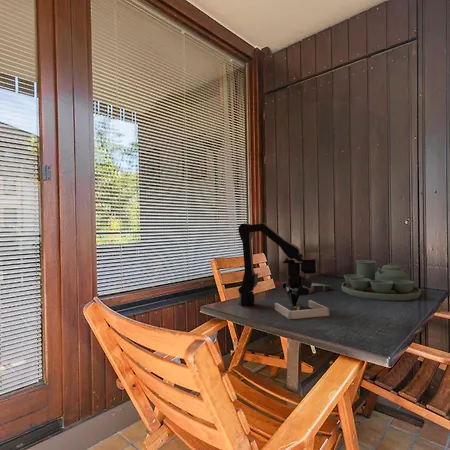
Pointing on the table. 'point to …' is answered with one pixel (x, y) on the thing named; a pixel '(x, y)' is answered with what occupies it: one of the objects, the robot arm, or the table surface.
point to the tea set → (380, 283)
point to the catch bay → (304, 311)
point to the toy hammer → (313, 287)
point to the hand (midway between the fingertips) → (294, 306)
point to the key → (297, 307)
